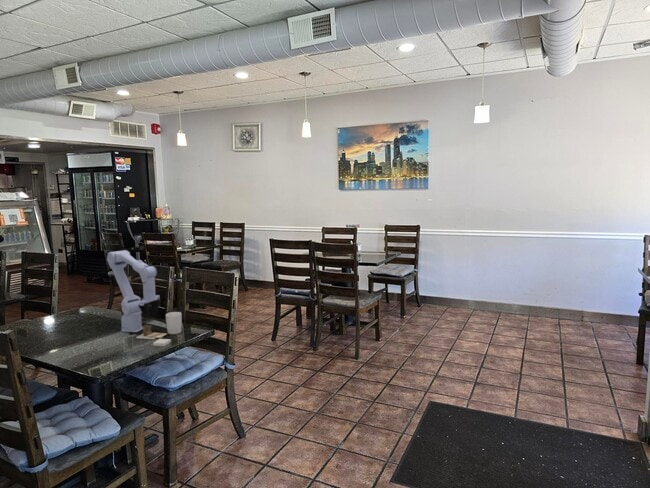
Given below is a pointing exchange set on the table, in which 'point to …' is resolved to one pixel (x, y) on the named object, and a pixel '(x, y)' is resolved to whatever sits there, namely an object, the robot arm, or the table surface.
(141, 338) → the felt mat
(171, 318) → the white cup
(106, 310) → the table surface
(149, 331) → the turner
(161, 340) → the tile
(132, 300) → the robot arm
